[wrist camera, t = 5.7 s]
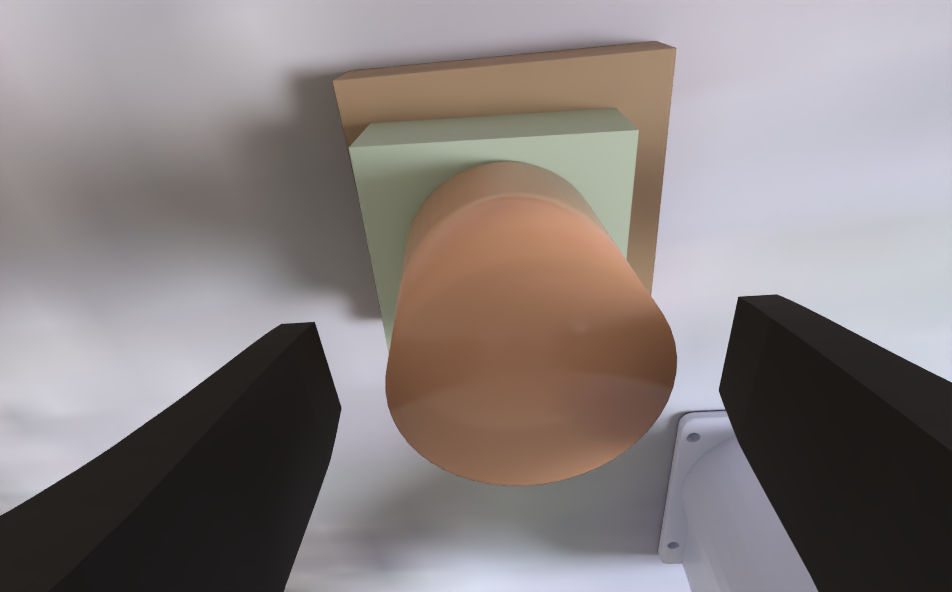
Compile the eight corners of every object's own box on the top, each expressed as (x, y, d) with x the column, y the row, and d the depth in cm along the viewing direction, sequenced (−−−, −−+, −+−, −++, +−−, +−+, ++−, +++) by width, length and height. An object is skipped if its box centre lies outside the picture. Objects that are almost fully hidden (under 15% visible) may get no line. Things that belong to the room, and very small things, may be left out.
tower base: (630, 296, 18) (647, 334, 16) (402, 310, 18) (391, 348, 16) (650, 39, 13) (676, 48, 12) (354, 67, 14) (332, 81, 12)
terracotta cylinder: (585, 337, 13) (645, 482, 9) (409, 338, 13) (393, 488, 9) (614, 162, 11) (710, 259, 7) (400, 160, 10) (374, 259, 7)
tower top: (600, 315, 15) (616, 362, 13) (404, 322, 16) (392, 370, 14) (615, 107, 12) (638, 129, 10) (370, 123, 13) (348, 147, 11)
